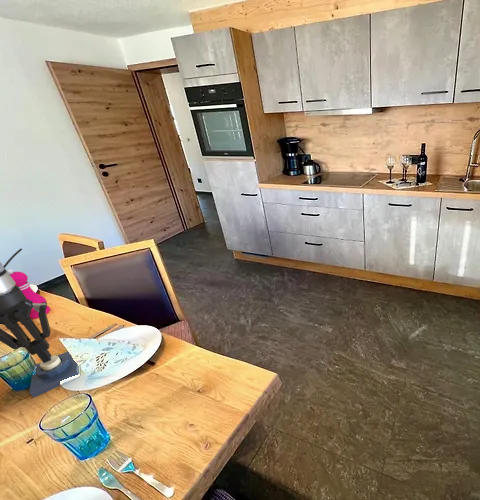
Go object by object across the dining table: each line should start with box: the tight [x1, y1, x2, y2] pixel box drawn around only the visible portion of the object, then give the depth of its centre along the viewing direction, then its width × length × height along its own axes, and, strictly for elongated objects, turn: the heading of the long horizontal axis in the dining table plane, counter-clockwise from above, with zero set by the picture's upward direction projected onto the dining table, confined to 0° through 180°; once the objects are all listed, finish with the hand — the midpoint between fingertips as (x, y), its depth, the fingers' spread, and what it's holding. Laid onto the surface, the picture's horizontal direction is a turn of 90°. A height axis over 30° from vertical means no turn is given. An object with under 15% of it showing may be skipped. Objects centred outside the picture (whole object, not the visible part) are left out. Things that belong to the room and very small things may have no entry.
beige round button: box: [39, 355, 61, 371], centre depth 83 cm, size 4×4×2 cm
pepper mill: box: [6, 268, 51, 320], centre depth 106 cm, size 7×7×20 cm
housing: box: [28, 351, 79, 398], centre depth 85 cm, size 12×10×4 cm
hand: (47, 358), depth 83 cm, fingers closed
